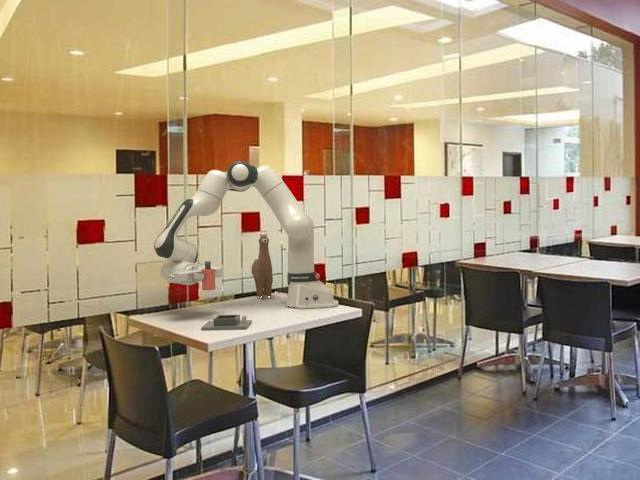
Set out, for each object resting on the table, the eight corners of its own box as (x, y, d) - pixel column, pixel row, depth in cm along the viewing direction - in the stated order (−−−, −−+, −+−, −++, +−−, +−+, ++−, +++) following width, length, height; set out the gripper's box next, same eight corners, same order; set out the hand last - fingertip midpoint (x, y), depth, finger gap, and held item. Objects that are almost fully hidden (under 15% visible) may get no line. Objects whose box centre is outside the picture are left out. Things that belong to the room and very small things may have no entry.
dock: (251, 322, 227) (251, 313, 227) (246, 329, 215) (246, 319, 215) (209, 323, 228) (208, 314, 228) (201, 330, 216) (200, 320, 216)
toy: (257, 301, 277) (255, 234, 275) (251, 295, 297) (249, 233, 295) (276, 299, 279) (274, 234, 277) (270, 293, 299) (267, 232, 297)
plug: (209, 288, 240) (208, 260, 239) (215, 289, 237) (214, 261, 236) (202, 290, 237) (201, 261, 236) (207, 290, 235) (206, 262, 234)
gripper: (165, 268, 238) (186, 270, 228) (208, 263, 253) (229, 264, 243) (166, 284, 238) (187, 287, 229) (209, 278, 253) (230, 280, 244)
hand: (209, 275), depth 236 cm, fingers closed on plug, 4 cm apart
